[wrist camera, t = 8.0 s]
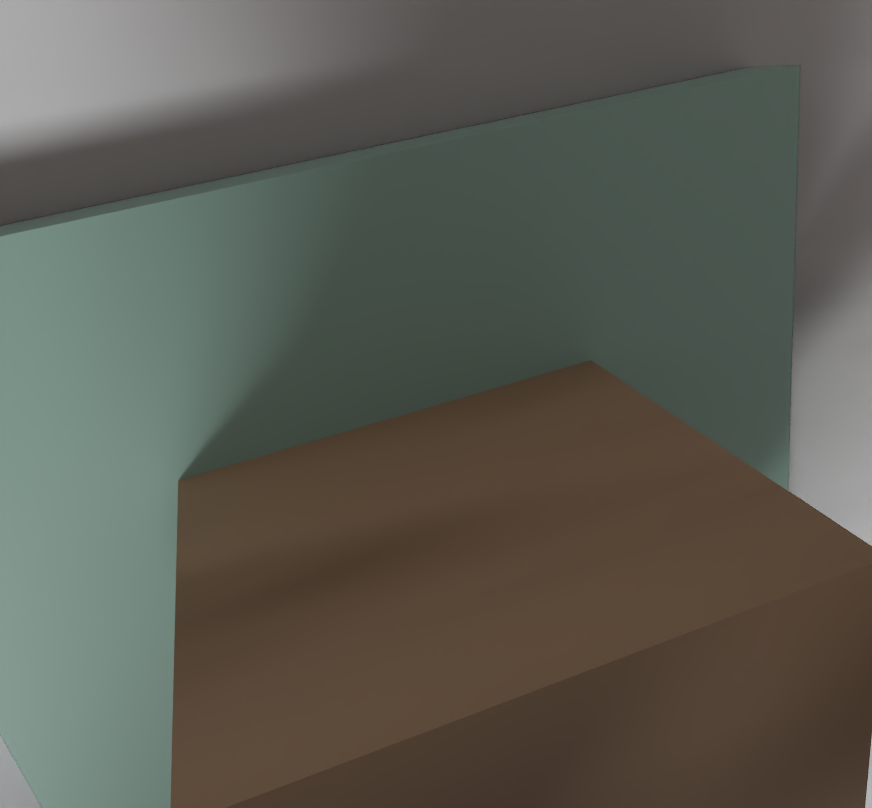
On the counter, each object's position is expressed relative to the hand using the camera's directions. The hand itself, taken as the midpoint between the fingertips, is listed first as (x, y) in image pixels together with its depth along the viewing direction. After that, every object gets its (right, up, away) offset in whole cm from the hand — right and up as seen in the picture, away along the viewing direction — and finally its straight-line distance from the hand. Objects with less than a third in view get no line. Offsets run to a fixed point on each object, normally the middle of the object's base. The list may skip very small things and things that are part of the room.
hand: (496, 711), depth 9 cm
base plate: (-1, +1, +3) cm, 4 cm away
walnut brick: (-1, +1, +2) cm, 2 cm away
